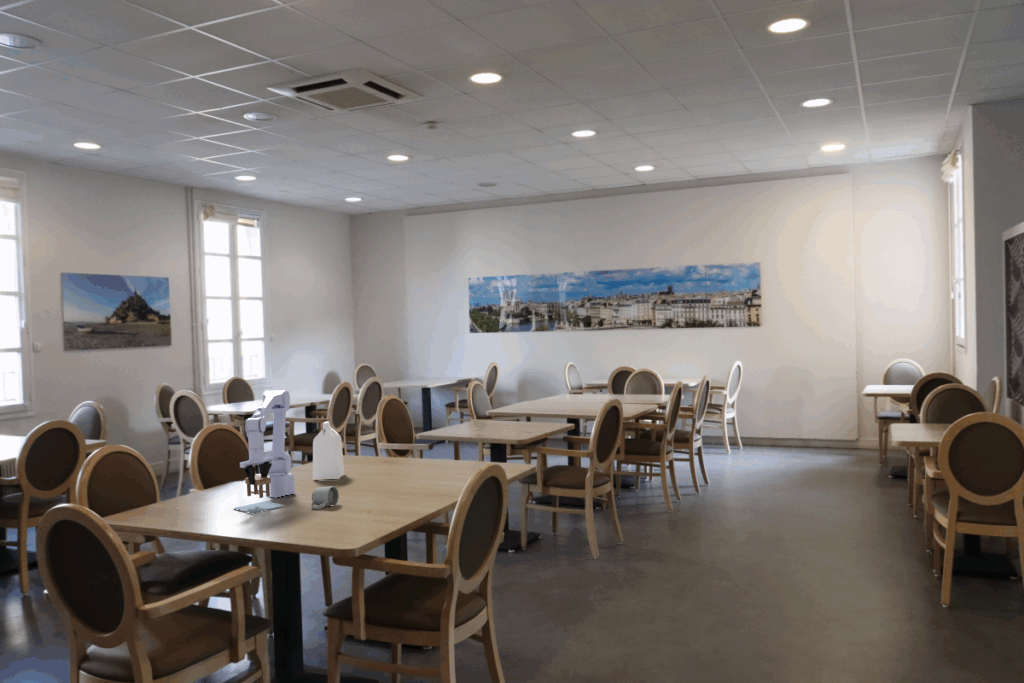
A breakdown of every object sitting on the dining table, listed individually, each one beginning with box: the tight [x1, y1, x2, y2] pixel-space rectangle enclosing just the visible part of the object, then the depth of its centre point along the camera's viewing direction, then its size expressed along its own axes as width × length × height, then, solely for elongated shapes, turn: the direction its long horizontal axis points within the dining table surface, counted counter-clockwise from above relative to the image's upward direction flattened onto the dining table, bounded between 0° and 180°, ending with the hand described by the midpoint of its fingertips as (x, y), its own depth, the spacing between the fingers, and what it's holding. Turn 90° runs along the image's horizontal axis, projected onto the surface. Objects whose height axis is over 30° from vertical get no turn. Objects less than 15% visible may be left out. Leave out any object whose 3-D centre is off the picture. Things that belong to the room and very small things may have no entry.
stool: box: [244, 475, 271, 499], centre depth 298 cm, size 9×5×7 cm, turn 57°
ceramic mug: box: [310, 485, 340, 510], centre depth 296 cm, size 11×8×8 cm
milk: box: [312, 421, 345, 480], centre depth 357 cm, size 12×12×26 cm
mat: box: [234, 500, 286, 514], centre depth 298 cm, size 14×14×1 cm
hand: (258, 483), depth 298 cm, fingers closed on stool, 5 cm apart
